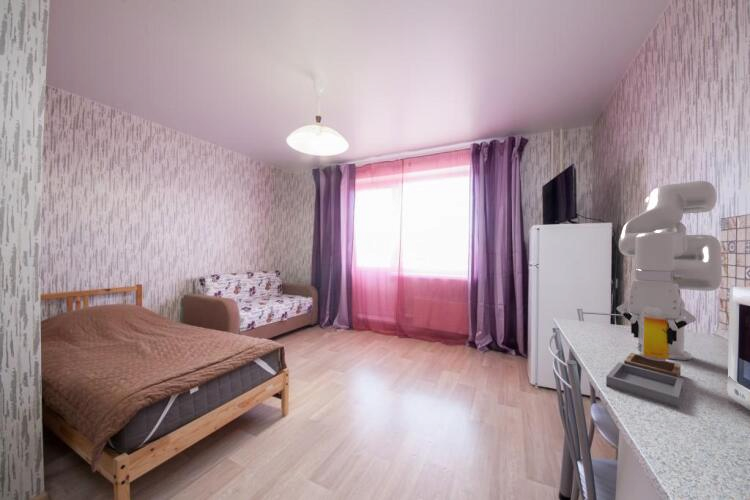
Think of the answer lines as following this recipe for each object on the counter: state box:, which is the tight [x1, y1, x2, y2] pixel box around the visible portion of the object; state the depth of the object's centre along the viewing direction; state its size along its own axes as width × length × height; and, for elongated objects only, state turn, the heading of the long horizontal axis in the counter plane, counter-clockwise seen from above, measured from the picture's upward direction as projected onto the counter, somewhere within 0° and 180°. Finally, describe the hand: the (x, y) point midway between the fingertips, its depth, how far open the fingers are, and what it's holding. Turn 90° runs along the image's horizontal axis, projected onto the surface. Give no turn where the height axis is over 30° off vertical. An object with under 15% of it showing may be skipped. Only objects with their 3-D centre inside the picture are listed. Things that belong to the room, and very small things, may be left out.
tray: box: [605, 361, 684, 410], centre depth 66 cm, size 14×12×2 cm
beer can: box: [637, 305, 670, 361], centre depth 75 cm, size 6×6×15 cm
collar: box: [623, 352, 682, 378], centre depth 74 cm, size 10×10×3 cm
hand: (652, 339), depth 75 cm, fingers closed on beer can, 6 cm apart
